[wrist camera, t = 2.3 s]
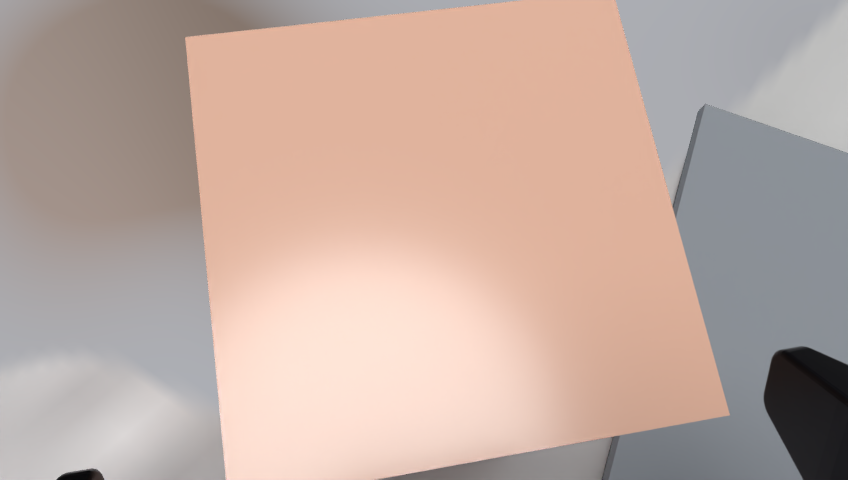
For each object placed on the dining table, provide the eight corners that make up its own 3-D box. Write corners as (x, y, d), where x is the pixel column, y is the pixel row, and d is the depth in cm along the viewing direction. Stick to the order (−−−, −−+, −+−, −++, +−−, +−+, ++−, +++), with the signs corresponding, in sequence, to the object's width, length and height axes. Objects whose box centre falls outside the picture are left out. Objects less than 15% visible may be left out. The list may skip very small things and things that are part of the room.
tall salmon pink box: (510, 434, 19) (729, 415, 7) (319, 468, 18) (228, 506, 7) (475, 252, 20) (613, -10, 9) (295, 278, 19) (185, 37, 8)
